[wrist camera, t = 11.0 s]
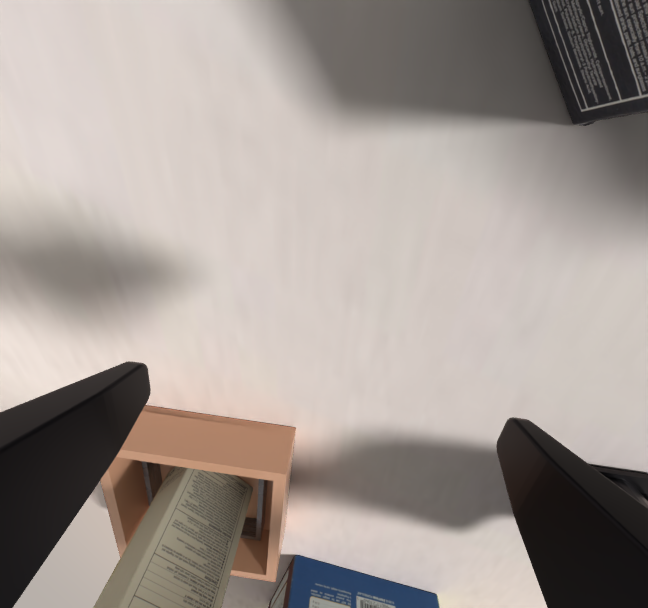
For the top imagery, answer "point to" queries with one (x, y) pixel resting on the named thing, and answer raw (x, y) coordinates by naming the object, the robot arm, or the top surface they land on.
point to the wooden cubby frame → (209, 455)
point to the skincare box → (182, 544)
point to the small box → (597, 55)
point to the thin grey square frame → (251, 525)
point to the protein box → (343, 589)
